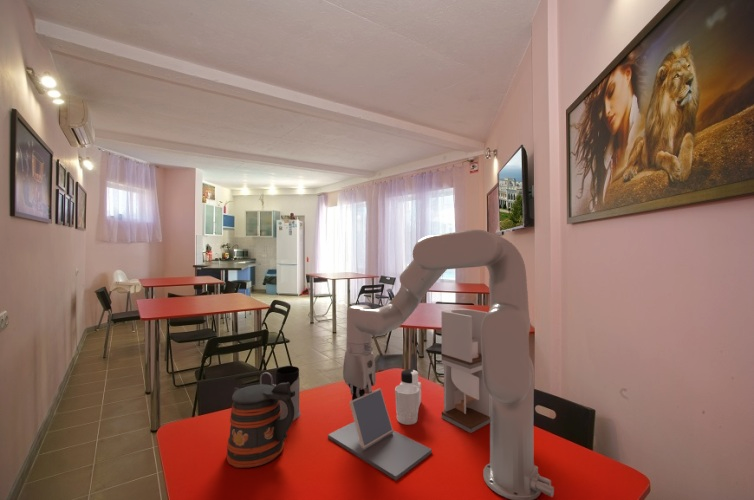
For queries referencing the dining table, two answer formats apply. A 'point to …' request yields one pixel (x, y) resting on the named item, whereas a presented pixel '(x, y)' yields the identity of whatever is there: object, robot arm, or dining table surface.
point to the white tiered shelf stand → (464, 370)
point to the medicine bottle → (411, 379)
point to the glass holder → (293, 378)
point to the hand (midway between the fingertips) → (357, 408)
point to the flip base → (383, 451)
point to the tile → (371, 418)
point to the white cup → (407, 403)
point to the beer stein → (258, 424)
